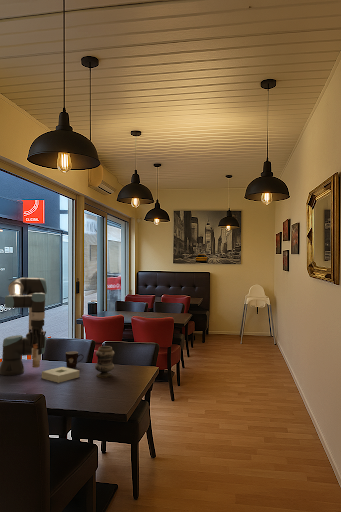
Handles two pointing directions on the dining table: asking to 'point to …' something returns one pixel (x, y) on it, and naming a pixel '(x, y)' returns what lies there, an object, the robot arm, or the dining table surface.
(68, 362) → the coffee mug
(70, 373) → the socket block
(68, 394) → the dining table surface
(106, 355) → the apothecary jar
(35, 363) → the peg
